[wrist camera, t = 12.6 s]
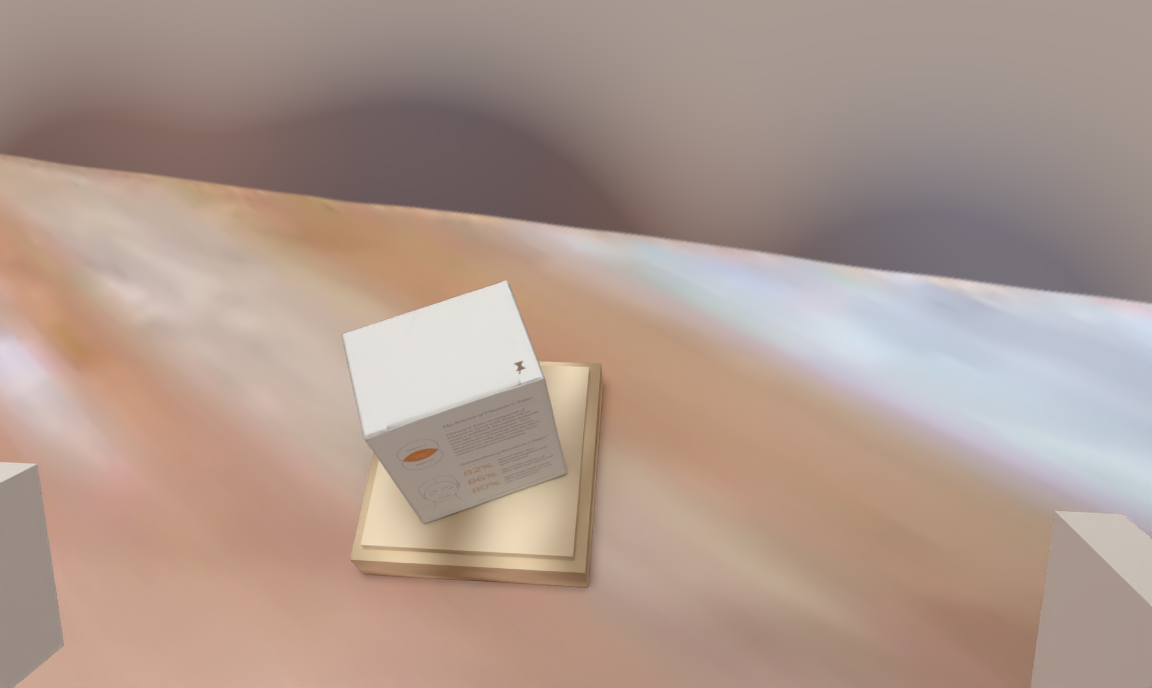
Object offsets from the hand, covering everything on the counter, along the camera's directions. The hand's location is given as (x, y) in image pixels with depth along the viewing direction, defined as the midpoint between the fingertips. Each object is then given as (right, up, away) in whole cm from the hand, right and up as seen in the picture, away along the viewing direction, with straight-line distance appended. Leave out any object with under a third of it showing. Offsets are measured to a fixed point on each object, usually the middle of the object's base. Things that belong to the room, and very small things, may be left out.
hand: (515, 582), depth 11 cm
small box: (-4, -3, +35) cm, 35 cm away
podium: (-4, -4, +38) cm, 38 cm away
